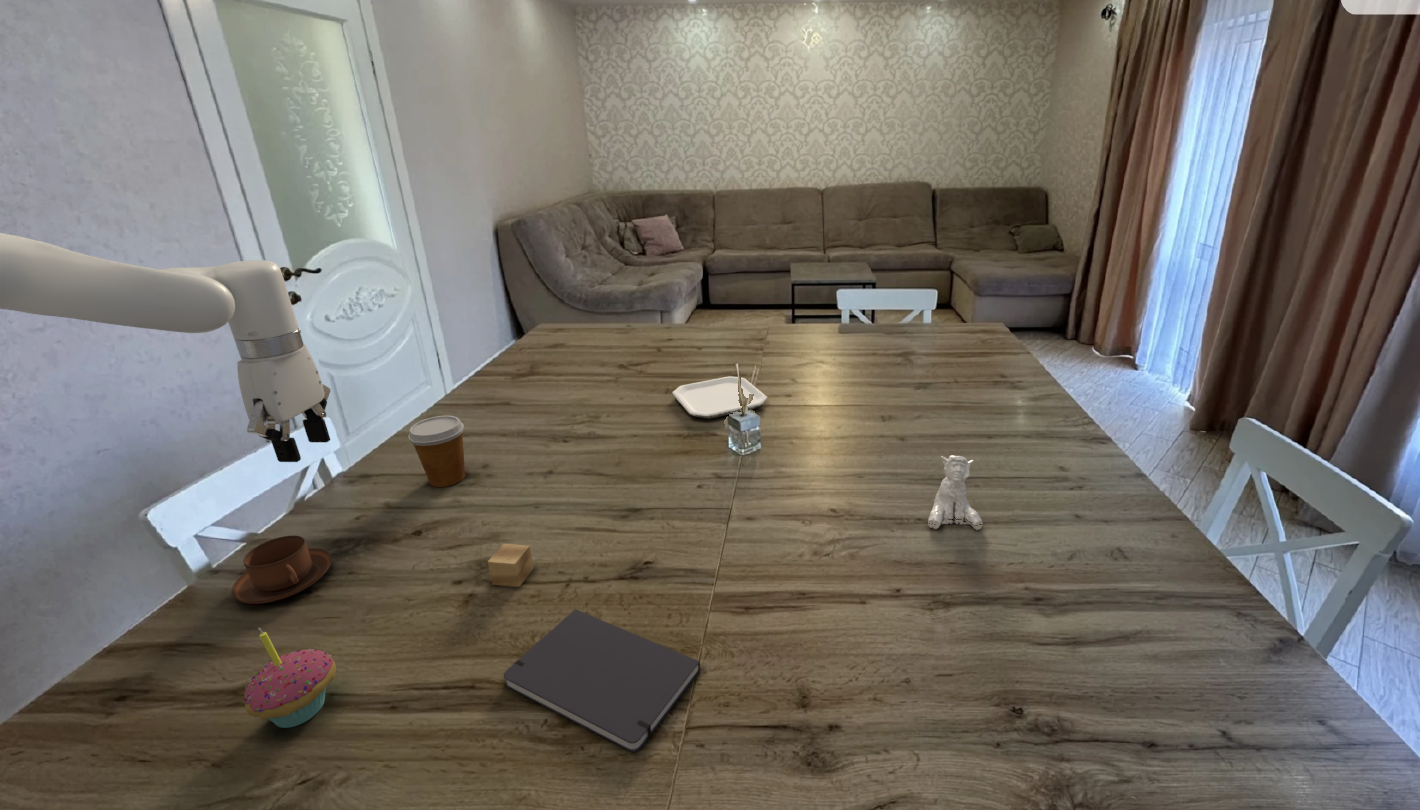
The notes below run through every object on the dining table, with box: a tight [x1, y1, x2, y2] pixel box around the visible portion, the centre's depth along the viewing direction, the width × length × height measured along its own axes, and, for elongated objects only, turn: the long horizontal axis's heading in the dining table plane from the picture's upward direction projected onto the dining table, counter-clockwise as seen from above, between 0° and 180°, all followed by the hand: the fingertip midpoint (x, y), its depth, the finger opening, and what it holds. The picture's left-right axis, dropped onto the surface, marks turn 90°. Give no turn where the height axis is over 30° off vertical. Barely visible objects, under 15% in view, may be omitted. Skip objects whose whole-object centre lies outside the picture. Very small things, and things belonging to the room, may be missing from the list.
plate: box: [671, 375, 768, 420], centre depth 157 cm, size 21×21×2 cm
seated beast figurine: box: [927, 455, 984, 531], centre depth 108 cm, size 10×9×12 cm
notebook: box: [503, 608, 701, 753], centre depth 77 cm, size 13×2×21 cm
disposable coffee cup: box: [407, 415, 466, 488], centre depth 120 cm, size 10×10×12 cm
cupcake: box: [243, 627, 337, 729], centre depth 71 cm, size 9×8×12 cm
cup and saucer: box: [231, 535, 332, 605], centre depth 93 cm, size 12×12×6 cm
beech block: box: [487, 543, 535, 588], centre depth 95 cm, size 4×4×4 cm
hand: (305, 450), depth 98 cm, fingers open, 5 cm apart
